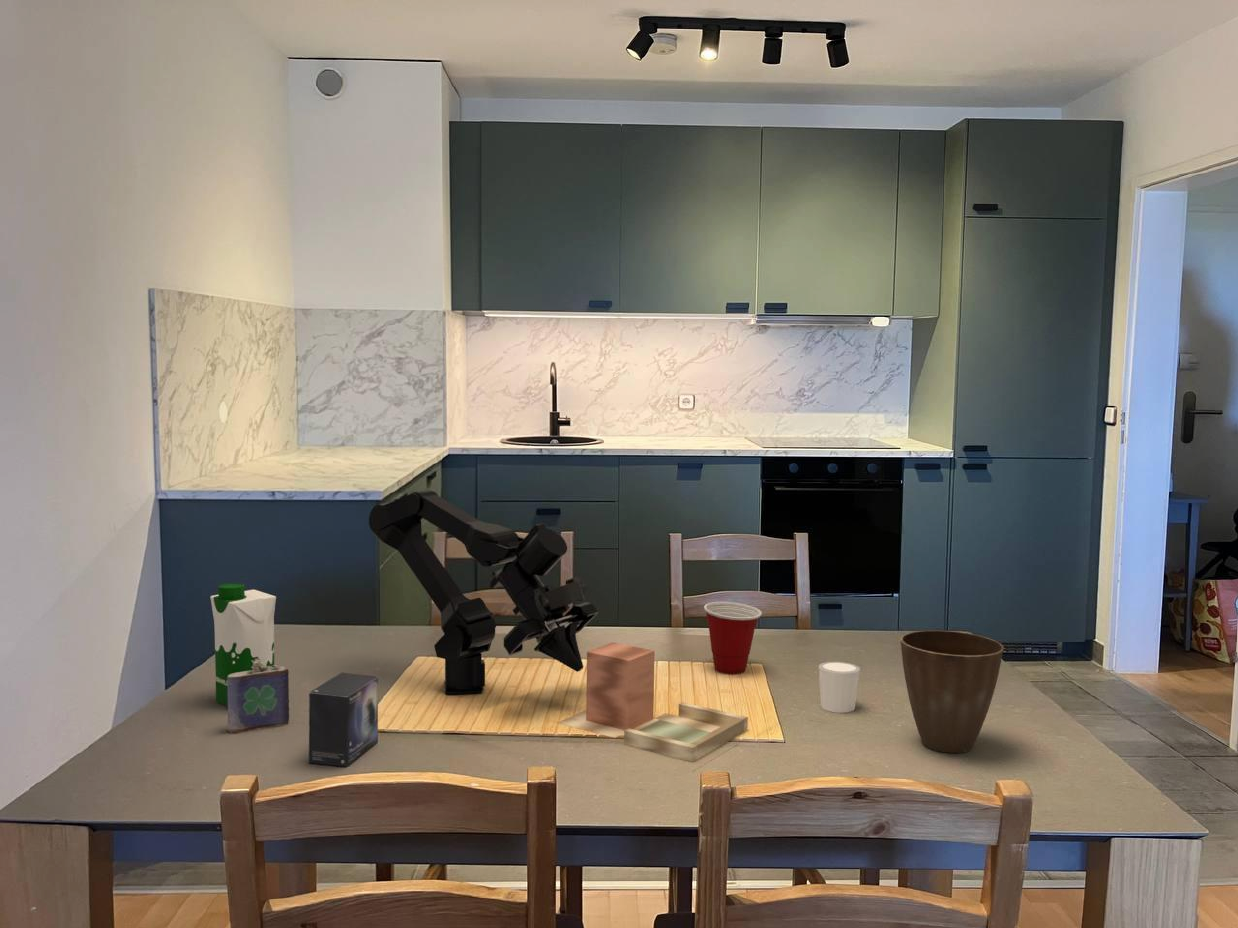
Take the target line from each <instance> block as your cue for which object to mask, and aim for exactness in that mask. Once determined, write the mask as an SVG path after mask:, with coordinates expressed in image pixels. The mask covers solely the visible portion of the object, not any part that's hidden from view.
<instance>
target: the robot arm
mask: <svg viewBox="0 0 1238 928" xmlns="http://www.w3.org/2000/svg"><path fill="white" fill-rule="evenodd" d="M369 513H370V514H369V516H368V526H369V528H370V530H371V532H372V533H373V534H374V536H376V537H377V538H378V539H379V540H380V541H381V543H383V544H384V545H387V546H388V547H390V548H392V549H394V550H395V551H397V552H398V553H399V554H400V556H401V557H402V558H403V560H404V562H405V563H406V564H407V565H408V566H409V568H410V569H411V571H412V573H413V575H415V578H416V579H417V581H419V583H420V585H421V586H422V588H423V589H424V590H425V592H426V593H427V595H428V597H429V598H430V599H431V601H432V602H433V603H434V605H435V606H436V608H437V609H438V610H439V612H440V625H441V627H440V628H441V630H442V632H443V635H442V637H440V638H439V639H438V641H436V643H435V644H434V646H433V647H434V651H435V654H436V655H435V656H436V658H438V659H443V660H444V681H443V686H444V687H443V688H444V695H458V694H459V695H460V694H461V695H463V694H481V693H483V692H484V691H483V690H484V687H485V686H486V662H485V660H484V659H482V658H483V656H482V655H483V654H482V653H484V652H489V651H490V649H491V647H492V642H493V641H494V639H495V636H496V628H497V624H496V622H495V619H494V617H493V616H494V613H493V612H492V611H490V610H489V609H488V606H487V605H486V603H485V602H484V600H483V599H482V598H481V597H476V598H471V599H470V598H468V597H467V596H465V595H464V593H463V592H462V591H461V589H460V588H459V587H458V584H457V583H456V582H455V581H454V579H453V578H452V576H451V575H450V574H449V572H448V570H447V569H446V568H445V567H444V565H443V564H442V562H441V561H440V559H439V558H438V556H436V554H435V552H434V550H432V548H431V547H430V545H429V544H428V542H427V541H426V539H425V538H424V536H423V531H422V530H423V528H422V527H423V523H422V520H423V519H424V520H425V521H427V522H429V523H430V524H432V525H433V526H435V527H436V528H438V529H440V530H441V531H443V532H445V533H446V534H448V535H450V536H451V537H453V538H454V539H456V540H457V541H459V542H461V544H463V545H464V547H465V549H466V552H467V553H468V555H469V556H470V557H471V558H473V560H475V561H476V562H477V563H478V564H479V565H481V566H482V567H485V568H486V567H488V568H489V567H492V566H498V565H502V564H504V565H503V566H502V567H501V568H500V569H499V570H494V571H491V579H490V582H489V588H491V589H496V588H499V587H502V588H503V589H504V591H505V592H506V594H507V595H508V597H509V598H510V599H511V601H512V602H513V604H514V606H515V607H514V608H513V609H512V612H513V613H514V615H515V616H518V615H521V616H522V617H523V619H524V620H520V621H518V622H517V623H516V624H515V625H514V626H513V627H512V628H511V629H510V631H508V633H507V634H506V635H505V636H504V638H503V647H504V649H505V650H506V652H507V654H508V655H509V656H512V655H516V654H518V653H521V652H522V651H523V647H524V645H523V643H524V642H526V641H530V640H534V639H535V641H536V643H537V645H536V646H535V647H534V648H533V650H534V651H535V652H536V653H537V652H540V653H541V654H544V655H546V656H548V657H550V658H551V659H554V660H556V661H558V662H559V663H561V664H563V665H564V666H567V667H568V668H569V669H571V670H573V671H575V672H577V673H578V672H580V671H582V670H583V669H584V663H583V661H582V656H581V653H580V650H579V646H578V640H577V635H576V634H578V633H579V632H581V631H582V630H583V629H584V628H585V627H587V626H588V624H589V623H590V622H591V621H592V620H593V619H594V618H595V617H596V616H597V615H598V614H599V611H598V609H597V608H596V607H595V606H594V604H593V603H592V602H587V601H585V599H586V598H585V596H584V595H586V594H587V590H588V589H587V585H586V584H585V582H584V581H583V580H582V579H581V577H580V576H574V577H571V578H569V579H566V580H565V584H563V585H560V586H558V587H556V588H554V586H552V585H551V584H549V585H544V583H543V582H542V581H541V579H540V576H541V577H542V576H546V575H548V573H549V572H550V571H551V570H552V568H553V567H555V565H556V564H557V563H558V562H559V561H560V560H561V559H562V558H563V557H564V556H565V554H566V553H567V552H568V546H567V545H568V544H567V541H566V540H565V539H564V537H562V535H559V533H557V532H556V531H554V530H552V529H550V528H547V527H546V526H545V524H544V523H538V524H534V525H533V526H532V527H531V529H530V531H529V532H528V533H527V534H526V536H525V537H523V536H519V535H518V533H517V532H515V531H514V530H513V529H511V528H508V527H505V526H502V525H500V524H495V523H489V522H484V521H481V520H480V519H478V518H476V517H474V516H472V515H471V514H469V513H468V512H466V511H464V509H463V510H462V509H461V508H459V507H457V506H456V505H454V504H452V503H451V502H450V501H447V500H446V499H444V498H442V497H441V496H439V495H438V493H437V492H436V491H433V490H430V489H424V490H419V491H413V492H411V493H409V494H408V495H405V496H404V497H402V498H399V499H395V500H393V501H391V502H386V503H379V504H375V505H374V506H373V507H372V508H371V511H370V512H369ZM578 601H579V602H582V601H585V602H582V603H578V604H575V605H573V606H569V605H571V604H574V603H577V602H578ZM570 607H571V608H570ZM564 613H565V614H564Z"/></svg>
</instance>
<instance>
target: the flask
mask: <svg viewBox="0 0 1238 928" xmlns="http://www.w3.org/2000/svg"><path fill="white" fill-rule="evenodd" d="M252 662H253V666H252V669H253V670H250V671H244V672H237V673H233V674H230V675H228V676H227V686H228V707H227V730H228V732H229V733H230V734H233V733H237V734H238V733H245V732H251V731H258V730H260V731H261V730H263V729H266V728H267V729H270V728H274V727H276V728H277V727H279V726H287V725H290V720H289V719H290V698H289V697H290V696H289V695H290V694H289V691H290V689H289V688H290V687H289V684H290V683H289V678H290V677H289V675H290V674H289V673H290V671H289V669H288V668H287V667H286V666H278V665H276V664H274V665H273V666H274V667H272V666H265V665H263V664H261V663H260V658H258V659H255V661H253V660H252ZM269 667H272V668H269Z"/></svg>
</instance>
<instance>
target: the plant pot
mask: <svg viewBox="0 0 1238 928" xmlns="http://www.w3.org/2000/svg"><path fill="white" fill-rule="evenodd" d="M900 646H901V648H900V650H901V657H902V667H903V672H904V680H905V684H906V690H907V696H908V699H909V704H910V707H911V712H912V714H913V719H914V721H915V722H914V723H915V726H916V728H917V732H918V735H919V738H920V740H921V743H922V745H923V746H925V747H926V748H928V749H931V750H933V751H937V752H943V753H948V754H950V753H951V754H957V753H958V754H961V753H966V752H970V750H972V749H973V747H974V745H975V743H976V741H977V739H978V736H979V734H980V732H981V730H982V727H983V725H984V722H985V720H986V717H987V714H988V711H989V709H990V705H991V703H992V699H993V696H994V693H995V689H996V685H997V683H998V682H997V681H998V678H999V673H1000V669H1001V665H1002V664H1001V663H1002V659H1003V654H1004V653H1003V652H1004V649H1005V647H1004V645H1002V643H1000V642H998V641H996V640H994V639H992V638H988V637H985V636H981V635H977V634H975V633H973V634H972V633H969V632H968V633H967V632H960V631H952V630H951V631H950V630H919V631H912V632H908V633H905V634H903V635H902V636H901V637H900Z"/></svg>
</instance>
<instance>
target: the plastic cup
mask: <svg viewBox="0 0 1238 928" xmlns="http://www.w3.org/2000/svg"><path fill="white" fill-rule="evenodd" d="M703 608H704V611H705V613H706V614H705V615H706V619H707V625H708V633H709V639H710V640H709V641H710V649H711V653H712V658H713V659H712V660H713V666H714V670H715V671H716V672H718V673H721V674H727V675H739V674H743V673H745V672H746V669H747V666H748V662H749V655H750V654H751V648H752V644H753V640H754V633H755V629H756V628H757V624H758V621H759V619H760V617H761V616H762V614H763V612H762V611H761V610H760V609H759V608H757V607H755V606H752V605H749V604H745V603H739V602H733V601H732V602H731V601H712V602H708V603H706V604H705V605H704V606H703Z"/></svg>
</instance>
